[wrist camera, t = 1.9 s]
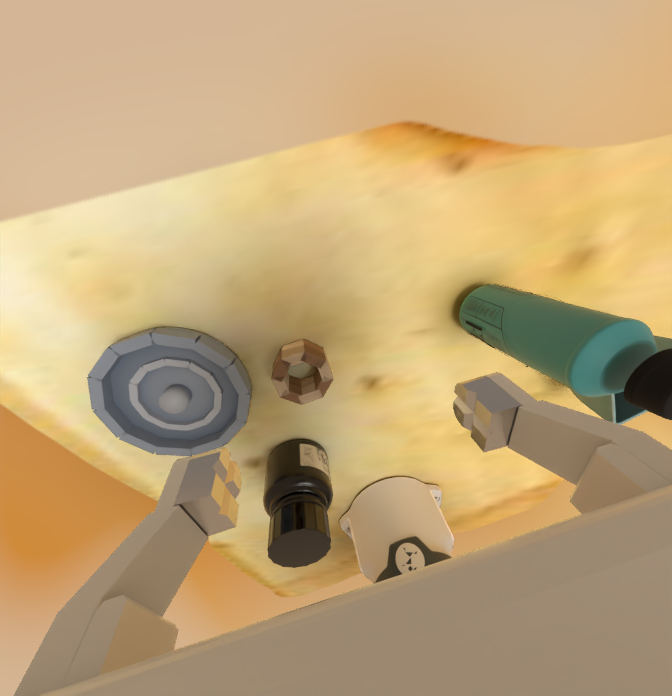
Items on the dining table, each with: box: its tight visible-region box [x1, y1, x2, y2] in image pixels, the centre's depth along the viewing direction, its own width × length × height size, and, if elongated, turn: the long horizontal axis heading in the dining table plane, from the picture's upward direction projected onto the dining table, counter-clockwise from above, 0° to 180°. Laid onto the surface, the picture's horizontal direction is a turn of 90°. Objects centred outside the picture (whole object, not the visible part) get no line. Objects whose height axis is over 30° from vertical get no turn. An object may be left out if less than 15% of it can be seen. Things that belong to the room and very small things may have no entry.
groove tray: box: [87, 327, 252, 456], centre depth 30 cm, size 16×16×3 cm
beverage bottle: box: [459, 284, 672, 420], centre depth 24 cm, size 6×7×20 cm
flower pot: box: [571, 335, 672, 425], centre depth 34 cm, size 9×9×9 cm
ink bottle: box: [263, 440, 333, 568], centre depth 33 cm, size 10×9×12 cm
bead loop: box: [272, 339, 333, 404], centre depth 31 cm, size 6×6×4 cm
